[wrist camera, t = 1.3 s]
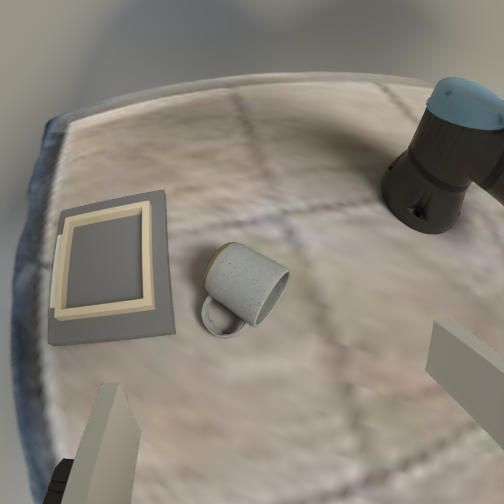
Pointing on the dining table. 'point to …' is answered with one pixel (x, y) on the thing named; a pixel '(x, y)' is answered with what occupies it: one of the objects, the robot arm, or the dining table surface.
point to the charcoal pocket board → (112, 272)
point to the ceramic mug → (243, 285)
